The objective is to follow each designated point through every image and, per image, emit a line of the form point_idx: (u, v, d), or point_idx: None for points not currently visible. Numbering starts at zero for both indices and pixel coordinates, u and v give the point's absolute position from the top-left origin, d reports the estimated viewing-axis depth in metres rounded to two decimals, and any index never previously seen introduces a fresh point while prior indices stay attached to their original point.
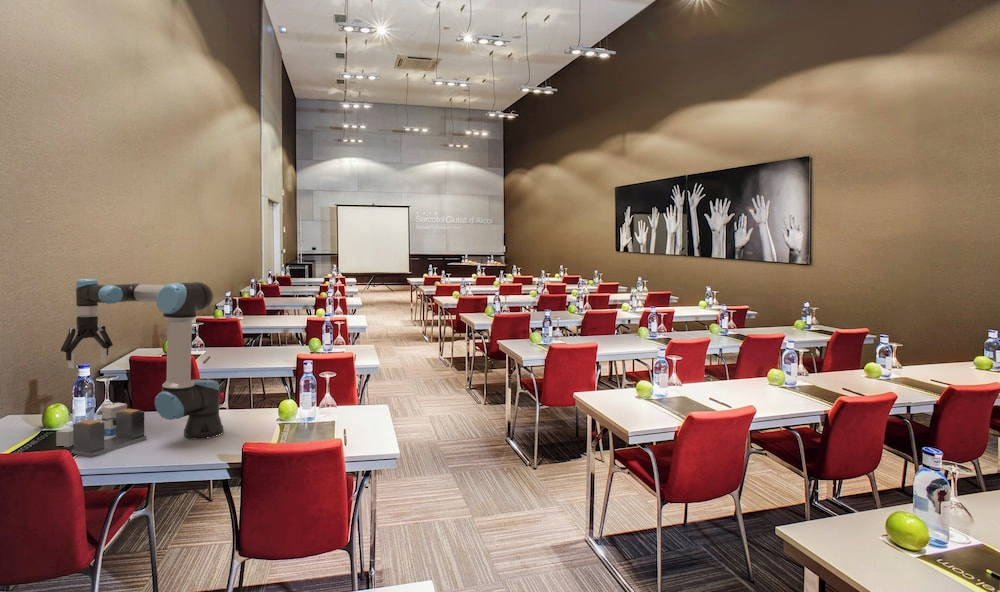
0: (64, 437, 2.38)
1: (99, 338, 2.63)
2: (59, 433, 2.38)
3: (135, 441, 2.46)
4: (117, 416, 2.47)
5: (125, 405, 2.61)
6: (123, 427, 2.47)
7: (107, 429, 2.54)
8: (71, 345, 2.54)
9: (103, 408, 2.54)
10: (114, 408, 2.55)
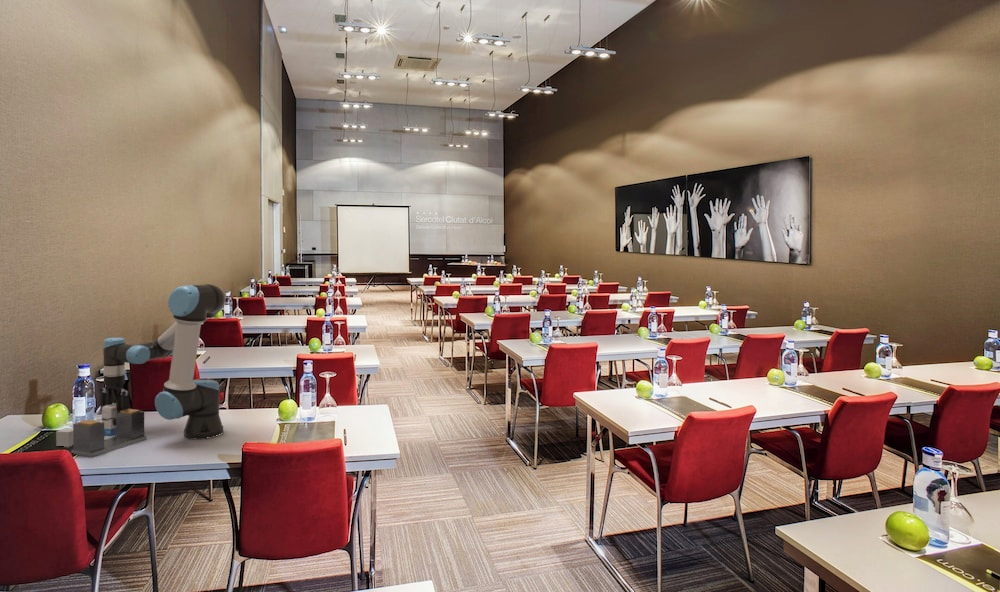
0: (64, 437, 2.38)
1: (116, 402, 2.56)
2: (59, 433, 2.38)
3: (135, 441, 2.46)
4: (117, 416, 2.47)
5: None
6: (123, 427, 2.47)
7: (107, 429, 2.54)
8: None
9: (103, 408, 2.54)
10: (114, 408, 2.55)
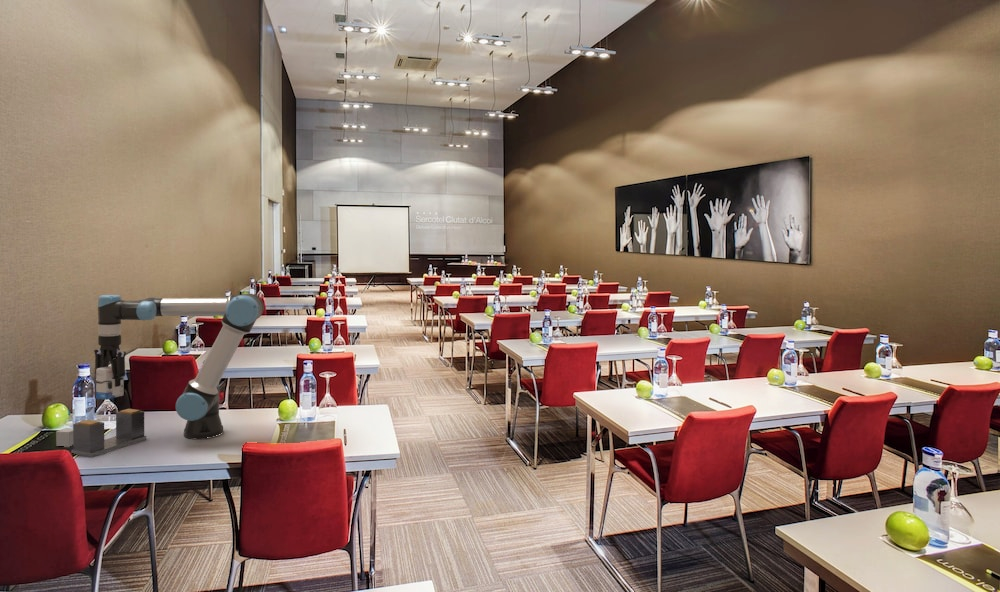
0: (64, 437, 2.38)
1: (112, 363, 2.38)
2: (59, 433, 2.38)
3: (135, 441, 2.46)
4: (117, 416, 2.47)
5: None
6: (123, 427, 2.47)
7: (102, 392, 2.36)
8: None
9: (97, 370, 2.36)
10: (109, 370, 2.37)
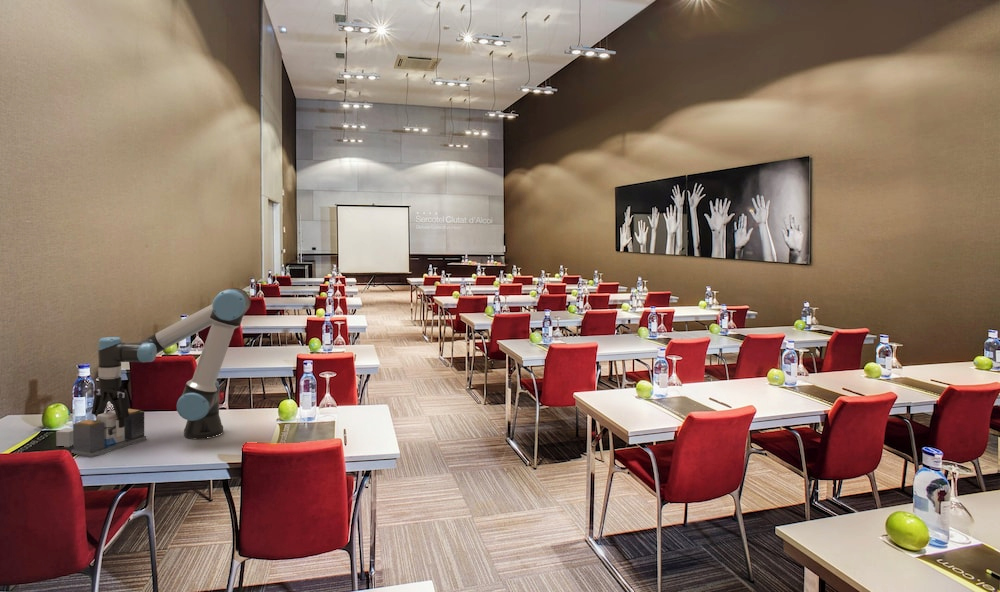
0: (64, 437, 2.38)
1: (114, 405, 2.38)
2: (59, 433, 2.38)
3: (135, 441, 2.46)
4: None
5: None
6: None
7: None
8: None
9: (98, 416, 2.37)
10: (110, 416, 2.37)
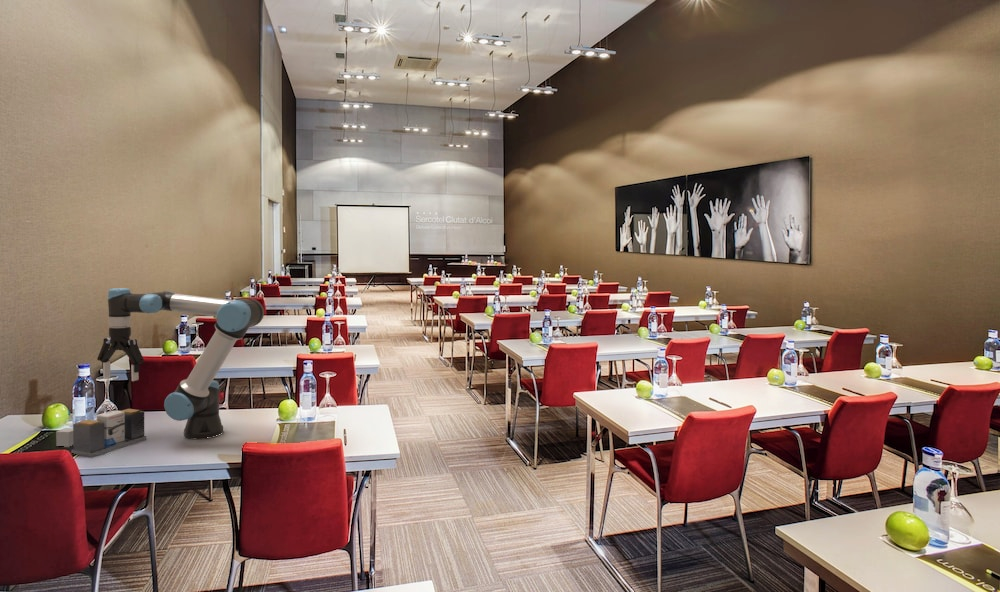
0: (64, 437, 2.38)
1: (126, 352, 2.45)
2: (59, 433, 2.38)
3: (135, 441, 2.46)
4: None
5: (122, 413, 2.43)
6: None
7: None
8: None
9: (98, 416, 2.37)
10: (110, 417, 2.37)
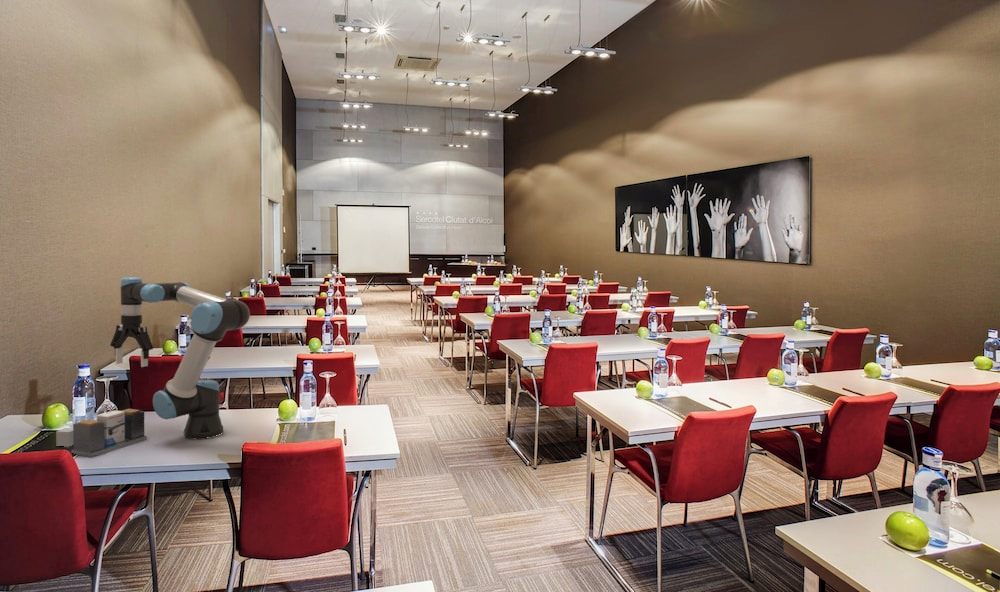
0: (64, 437, 2.38)
1: (137, 339, 2.55)
2: (59, 433, 2.38)
3: (135, 441, 2.46)
4: None
5: (122, 413, 2.43)
6: None
7: None
8: None
9: (98, 416, 2.37)
10: (110, 417, 2.37)
